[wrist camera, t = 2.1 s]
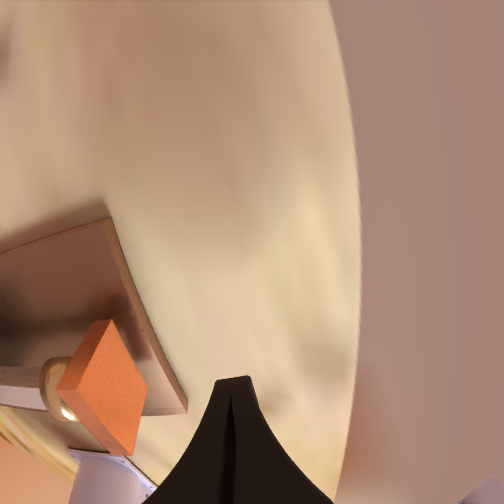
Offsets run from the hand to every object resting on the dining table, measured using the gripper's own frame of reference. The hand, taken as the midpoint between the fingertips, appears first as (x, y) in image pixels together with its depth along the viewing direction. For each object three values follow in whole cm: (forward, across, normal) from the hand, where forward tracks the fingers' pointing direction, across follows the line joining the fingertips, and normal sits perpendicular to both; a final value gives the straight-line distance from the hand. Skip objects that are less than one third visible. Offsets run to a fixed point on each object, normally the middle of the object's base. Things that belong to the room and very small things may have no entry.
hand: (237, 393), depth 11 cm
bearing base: (+6, +19, 0) cm, 20 cm away
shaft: (+3, +15, 0) cm, 16 cm away
